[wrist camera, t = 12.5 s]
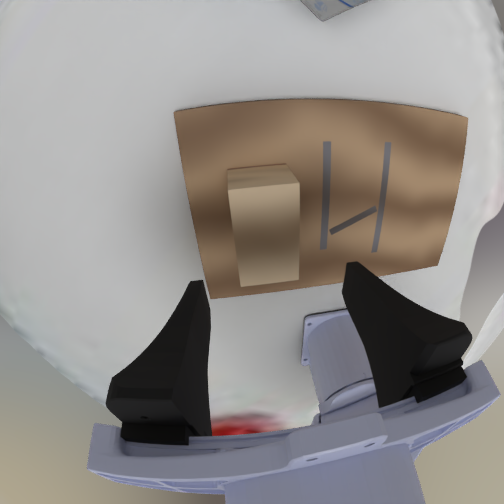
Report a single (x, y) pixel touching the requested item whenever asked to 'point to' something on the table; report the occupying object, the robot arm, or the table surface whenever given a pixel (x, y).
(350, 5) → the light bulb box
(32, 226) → the table surface
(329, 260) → the board
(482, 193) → the table surface
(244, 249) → the block
